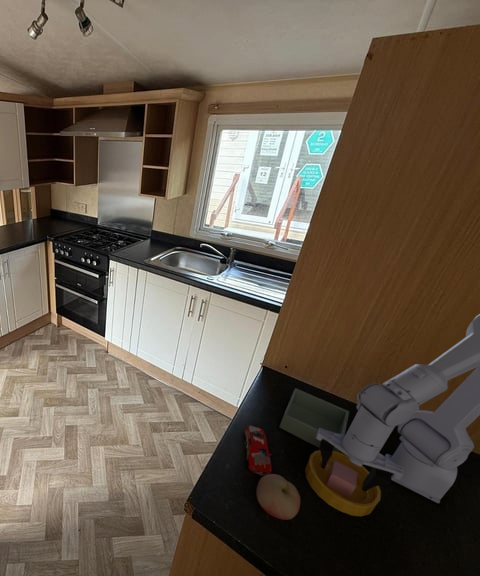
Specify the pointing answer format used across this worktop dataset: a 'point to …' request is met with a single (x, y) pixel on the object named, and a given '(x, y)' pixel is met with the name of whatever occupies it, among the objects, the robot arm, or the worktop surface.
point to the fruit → (278, 497)
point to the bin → (313, 417)
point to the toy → (342, 479)
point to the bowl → (355, 505)
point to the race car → (257, 451)
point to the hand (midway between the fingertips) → (343, 476)
